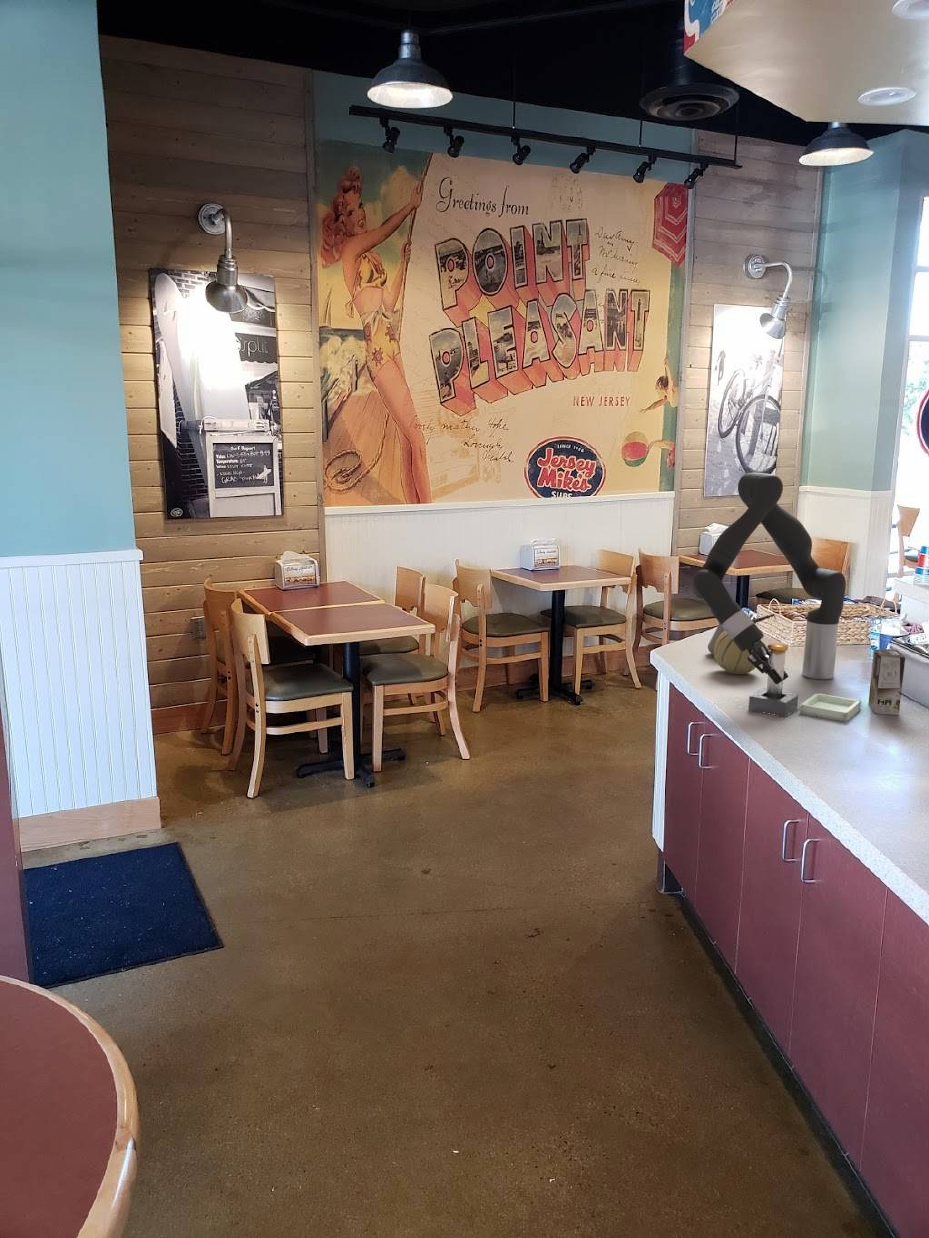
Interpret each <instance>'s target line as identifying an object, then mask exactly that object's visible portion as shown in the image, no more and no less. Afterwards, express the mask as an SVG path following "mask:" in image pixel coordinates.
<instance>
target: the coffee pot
mask: <svg viewBox="0 0 929 1238" xmlns="http://www.w3.org/2000/svg"><path fill="white" fill-rule="evenodd" d="M772 617H774V618H773V619H774V620H775V621H777V618H776V615H775V613H772V614H766V616H761V617H758V618H755V619H752V621H753V622H754V623H755V624H756V623H759V622H762V621H765V620H766V619H768V620H769V619H770V618H772ZM717 625H718V626H717V627H716V629H715V631H714V633H713V635H712V637H711V639H710V640H709V643H708V645H707V650H708V651H709V653H710V654H711V655H712V656H713V657H714V647H715V643H716V640H717V639H718V637H719V636H720V634H721V633H722V632H724V631H725V630H724V628H723V627H722V625H721V624H720V623H719V622H718V624H717Z"/></svg>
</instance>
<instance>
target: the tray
mask: <svg viewBox="0 0 929 1238" xmlns="http://www.w3.org/2000/svg"><path fill="white" fill-rule="evenodd" d="M861 705H862V700H859V699H853V698H848V697H842V696H837V695H829V694H825V693H819V692H816V693H814V694H813V695H812V696H810V697H809V698H807V700H805V701H804V702H802V703H800V707H799V714H801V713H803V714H802V715H806V714H808V715H807V716H811V715H813V716H812V717H816V716H818V717H817V718H821V717H823V719H827V718H828V719H827V720H832V719H834V720H833V721H837V720H839V721H838V722H842V721H843V722H842V723H847V722H848V721H849V720H850V719H851V718H853V716H855V715H856V714H858V713H859V711H860V710H861V709H862V708H861V707H862V706H861Z"/></svg>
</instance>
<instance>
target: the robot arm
mask: <svg viewBox="0 0 929 1238" xmlns="http://www.w3.org/2000/svg"><path fill="white" fill-rule="evenodd" d="M783 485H784V484H783V481H782V479H781V478H780V477H779V476H778V475H775V474H771V473H765V472H755V471H753V472H748V473H745V474H743V475H742V476H741V477H740V478H739V479H738V483H737V492H738V496H739V498H740V499H741V501H742V502H743V504H744V505H745V506H746V507H747V509H746V510H745V512H744V513H742V515H741V516H740V517H739V518H737V519H736V520H735V521H734V522H733V523H731V524H730V525H729V526H728V527H726V528H725V529H724V530H723V531H722V532H721V533H720V535H719V536H718V538H717V539H716V541H715V542H714V544H713V546H712V548H711V549H710V550H709V552H708V555H707V557H706V561H705V562H704V563H703V565H702V567H701V568H700V570H699V571H697V572H696V573H695V574H694V576H693V578H692V583H691V589H692V593H693V594H694V595H695V596H696V597H697V598H699V599H703V600H704V601H705V602H706V604H707V605H708V606H709V608H710V610H711V611H710V612H711V613H712V615H713V616H714V618H715V619H716V620H717V622H718V624H719V623H720V624H721V625H722V627H723V628H724V630H725V631H726V633H727V634H728V635H729V637H730V638H731V639H732V640H733V642H734V643H735V644H736V645H737V647H738V648H739V649H740V650H741V651H742V652H744V651H746V650H747V651H748V652H749V654H750V656H749V657H748V658H747V659H748V660H749V661H750V662H751V663H752V664H753V665H754V666H755V667H756V668H755V669H756V670H758V671H759V672H760V673H761V674H765V675H767V676H768V675H769V677H770V678H771V679H772V680H773V682H774V683H775V684H779V683H780V682H781V681H782V680H783V681H785V680H787V679H788V678H789V674H788V673H787V672H786V670H784V676H783V679H782V678H781V676H780V675H779V674H778V673H777V671H776V670H775V669H774V668H773V666H772V665H771V663H770V661H771V660H770V658H769V657H770V649H768V645H767V644H765V643H764V642H763V641H762V639H763V638H764V637H765V636H764V635H765V634H764V633H763V632H762V630H761V628H759V627H758V626H757V624H756V623H754V622H753V619H752V618H751V617H750V616H749V614H747V613H746V611H744V610H743V609H742V608H741V606H740V605H739V604H738V603H737V602H736V600H735V599H734V598H733V597H732V596H731V594H730V592H729V591H728V590H727V588H726V586H725V585H724V583H723V582H722V581H723V580H724V578H725V576H726V574H727V572H728V570H729V569H730V568H731V566H732V565H733V564H734V561H735V559H736V558H737V557H738V555H739V553H740V552H741V550H742V548H743V546H744V545H745V544H746V542H747V540H748V539H749V538H750V536H751V535H752V534H753V533H754V532H755V530H756V529H757V528H758V526H759V525H760V524H761V525H762V526H763V528H764V529H765V531H766V532H767V533H768V534H769V536H770V537H771V540H772V541H773V542H774V544H775V545H776V547H777V548H778V550H779V551H780V552H781V554H782V555H783V556H784V557H785V559H786V561H787V562H788V564H789V565H790V567H791V568H792V569H793V571H794V572H795V574H796V576H797V578H798V580H799V582H800V584H801V586H802V588H803V590H804V591H805V593H806V594H807V595H808V596H809V597H811V598H815V599H817V600H818V599H819V600H821V601H820V602H821V603H820V606H819V607H818V608H816V609H815V608H814V609H811V610H808V612H807V614H806V615H807V616H806V628H805V638H804V649H803V661H802V668H801V669H802V670H801V675H802V676H803V677H807V678H808V679H816V680H831V679H833V678H834V676H835V667H836V666H835V665H836V657H837V647H838V646H837V645H838V635H839V623H840V619H841V618H840V617H841V616H842V613H843V610H844V604H845V603H844V602H845V597H846V587H847V582H846V577H845V575H844V574H843V573H842V572H840V571H837V570H832V569H827V568H823V567H821V566H819V565H818V563H816V561H815V560H814V558H813V557H812V550H813V541H812V538H811V535H810V534H809V533H808V530H807V529H806V528H805V526H804V525H803V523H802V522H801V521H800V520H799V519H798V518H797V517H796V516H794V515H793V514H791V513H790V512H789V511H787V510H786V509H785V508H783V507H782V506H781V505H779V504H778V502H779V500H780V499H781V497H782V494H783V490H784V486H783ZM773 669H774V670H773Z"/></svg>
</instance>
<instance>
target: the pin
mask: <svg viewBox="0 0 929 1238" xmlns="http://www.w3.org/2000/svg"><path fill="white" fill-rule="evenodd" d="M767 646H768V649H770V657H769V658H770V660H771V661H770V663H771V665H772V666H773V668H774V669H775V670H776V671H777V673H778V674H779V675H780V676H781V678H782V679H783V676H784V671H785V663H786V652H787V651H789V645H788V644H786V643H785V644H783V643H778V642H777V643H776V642H773V643H768V645H767ZM774 669H773V670H774ZM783 686H784V680H782V681H781V682H780V683H779V684H775V683H774V682H773V680H772V679H771V678H770V677H769V675H768V674H767V686H766V689H767V694H766V697H770V698H776V699H782V692H783Z"/></svg>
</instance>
